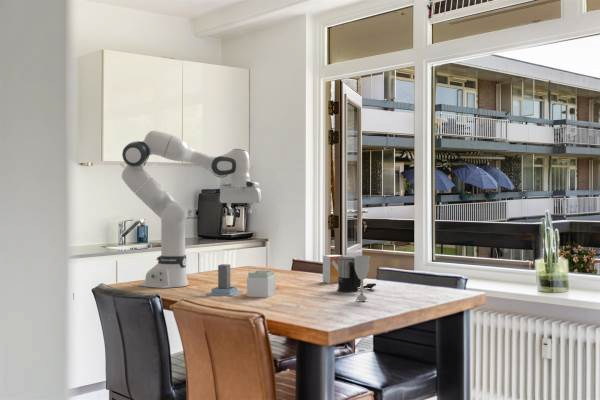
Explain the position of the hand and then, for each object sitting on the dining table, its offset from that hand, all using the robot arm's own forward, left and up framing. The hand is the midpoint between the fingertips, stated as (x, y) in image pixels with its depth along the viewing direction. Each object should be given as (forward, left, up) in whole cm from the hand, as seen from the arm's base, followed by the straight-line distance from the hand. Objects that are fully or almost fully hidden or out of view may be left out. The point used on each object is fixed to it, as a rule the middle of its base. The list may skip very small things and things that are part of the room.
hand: (240, 212), depth 297 cm
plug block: (+2, -24, -34) cm, 41 cm away
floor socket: (+2, -24, -34) cm, 42 cm away
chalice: (+63, -26, -34) cm, 76 cm away
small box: (+40, +20, -34) cm, 56 cm away
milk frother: (+56, -1, -34) cm, 66 cm away
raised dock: (+19, -24, -34) cm, 46 cm away
